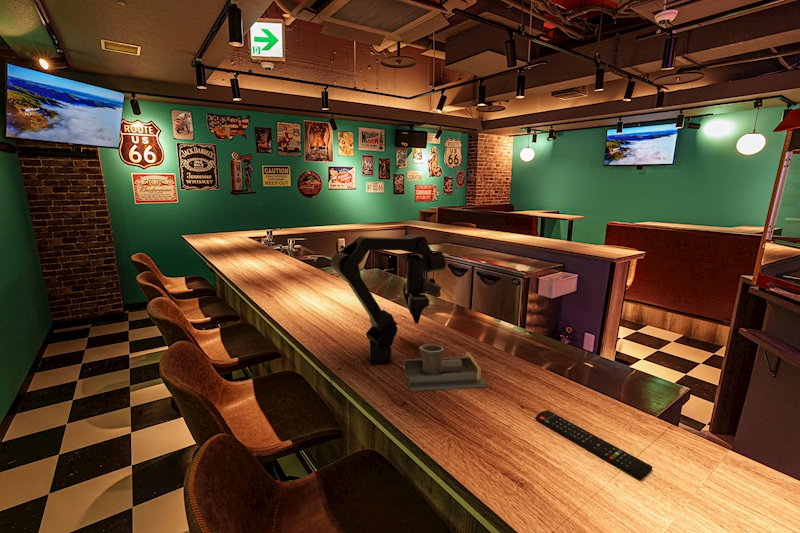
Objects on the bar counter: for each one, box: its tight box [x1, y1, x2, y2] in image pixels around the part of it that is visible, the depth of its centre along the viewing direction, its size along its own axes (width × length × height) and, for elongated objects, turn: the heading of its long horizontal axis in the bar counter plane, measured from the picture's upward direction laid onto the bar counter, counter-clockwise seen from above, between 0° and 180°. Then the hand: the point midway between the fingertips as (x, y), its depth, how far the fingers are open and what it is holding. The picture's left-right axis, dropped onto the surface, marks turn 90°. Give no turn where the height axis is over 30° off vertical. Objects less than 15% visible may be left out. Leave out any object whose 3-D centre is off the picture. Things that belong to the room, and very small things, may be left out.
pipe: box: [418, 343, 462, 374], centre depth 111 cm, size 6×13×8 cm, turn 90°
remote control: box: [535, 410, 653, 481], centre depth 83 cm, size 5×24×1 cm, turn 35°
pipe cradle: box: [402, 351, 488, 392], centre depth 111 cm, size 22×14×5 cm, turn 97°
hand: (414, 318), depth 125 cm, fingers open, 9 cm apart
